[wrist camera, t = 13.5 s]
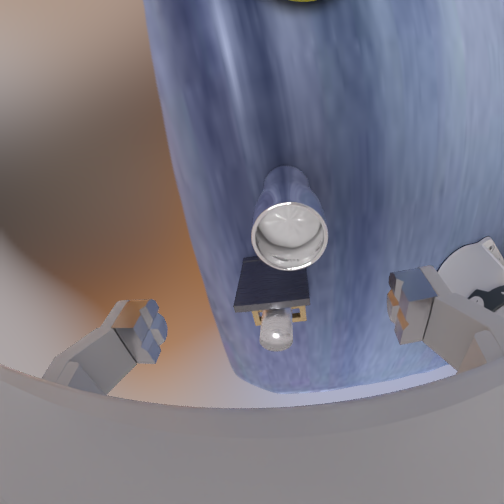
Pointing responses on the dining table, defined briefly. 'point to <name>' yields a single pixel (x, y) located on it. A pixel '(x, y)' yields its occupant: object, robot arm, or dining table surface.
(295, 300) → the stand
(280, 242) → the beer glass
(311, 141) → the dining table surface
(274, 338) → the metal cylinder
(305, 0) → the bowl
